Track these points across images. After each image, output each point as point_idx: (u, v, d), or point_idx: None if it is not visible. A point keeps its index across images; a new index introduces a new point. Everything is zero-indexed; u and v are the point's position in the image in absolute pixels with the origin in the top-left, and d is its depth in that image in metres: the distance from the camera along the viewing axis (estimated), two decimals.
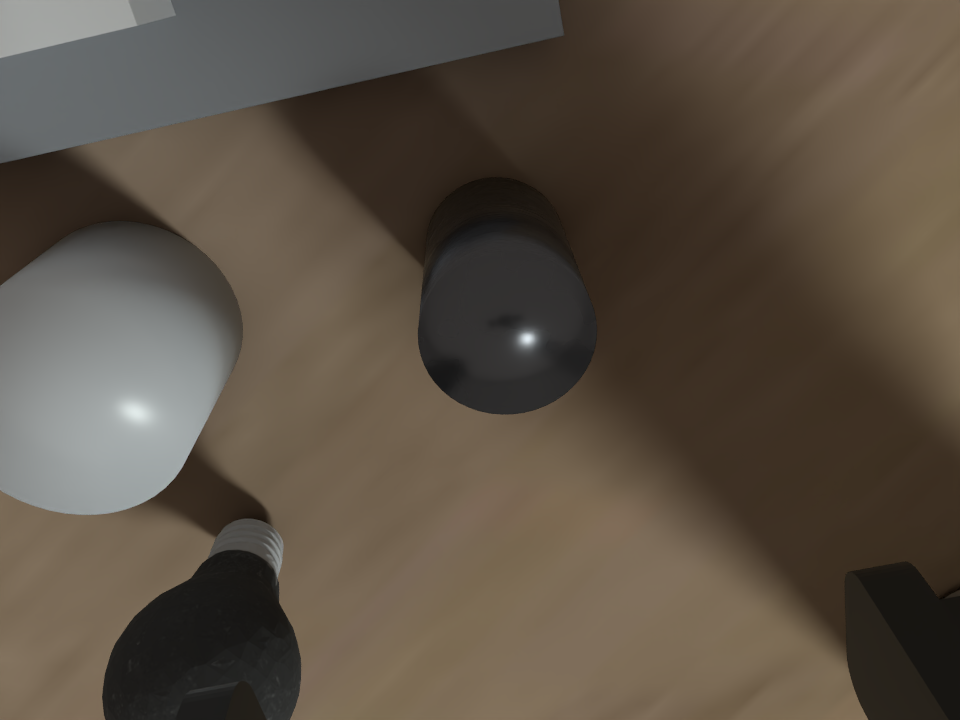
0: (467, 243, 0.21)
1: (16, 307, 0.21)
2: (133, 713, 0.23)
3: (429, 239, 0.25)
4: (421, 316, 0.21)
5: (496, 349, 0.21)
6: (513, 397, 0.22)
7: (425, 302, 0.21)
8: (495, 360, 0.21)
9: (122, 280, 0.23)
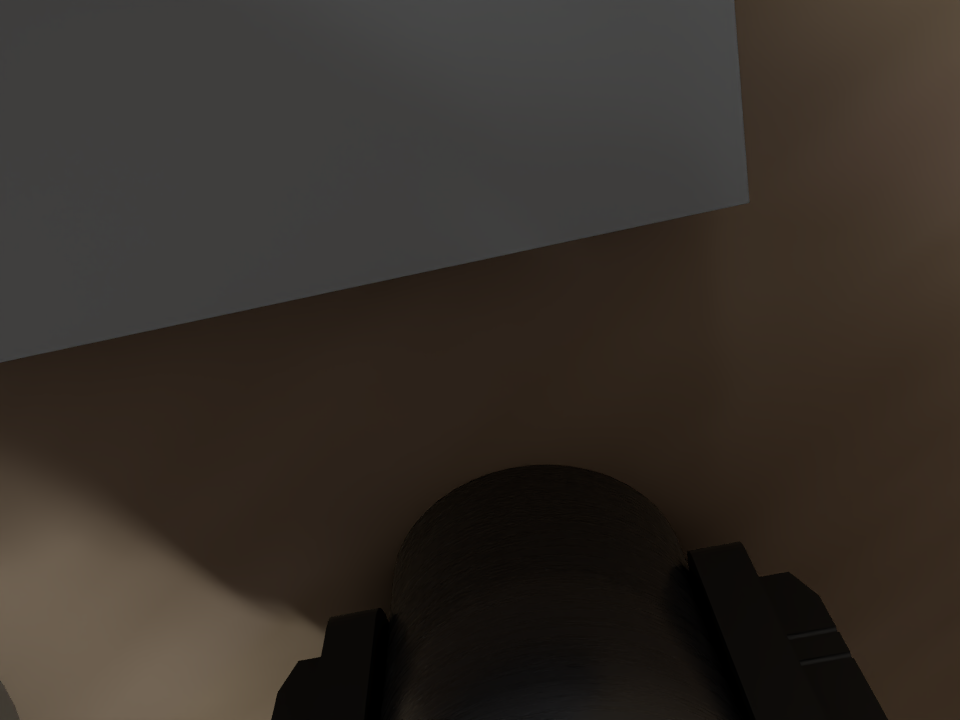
0: None
1: None
2: None
3: (394, 640, 0.11)
4: None
5: None
6: None
7: None
8: None
9: None
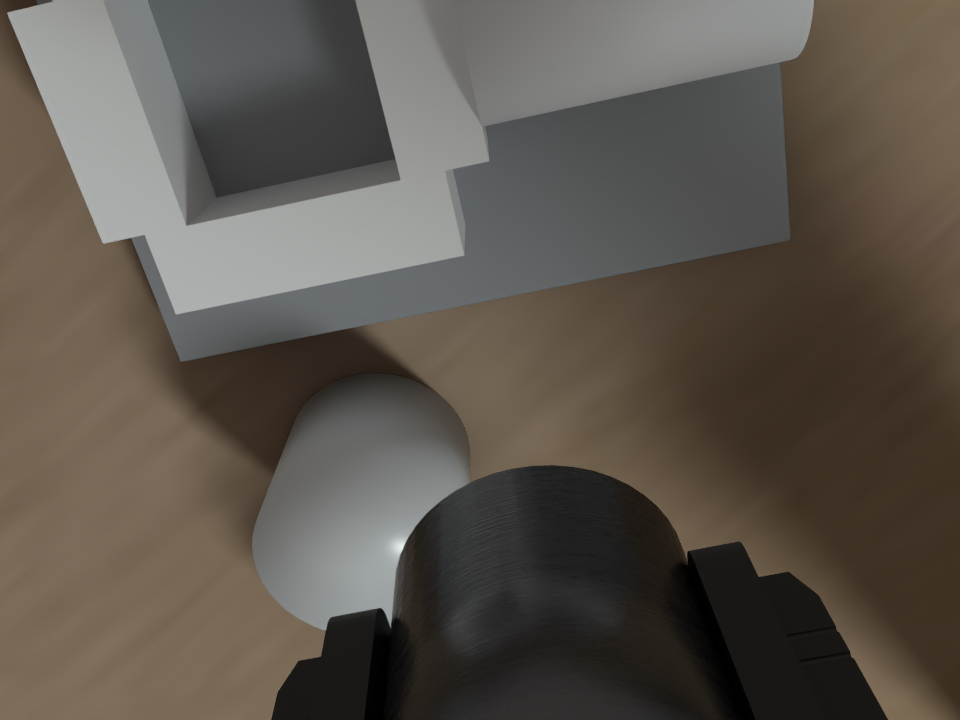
0: None
1: (337, 474, 0.26)
2: None
3: (396, 640, 0.11)
4: None
5: None
6: None
7: None
8: None
9: (409, 442, 0.27)
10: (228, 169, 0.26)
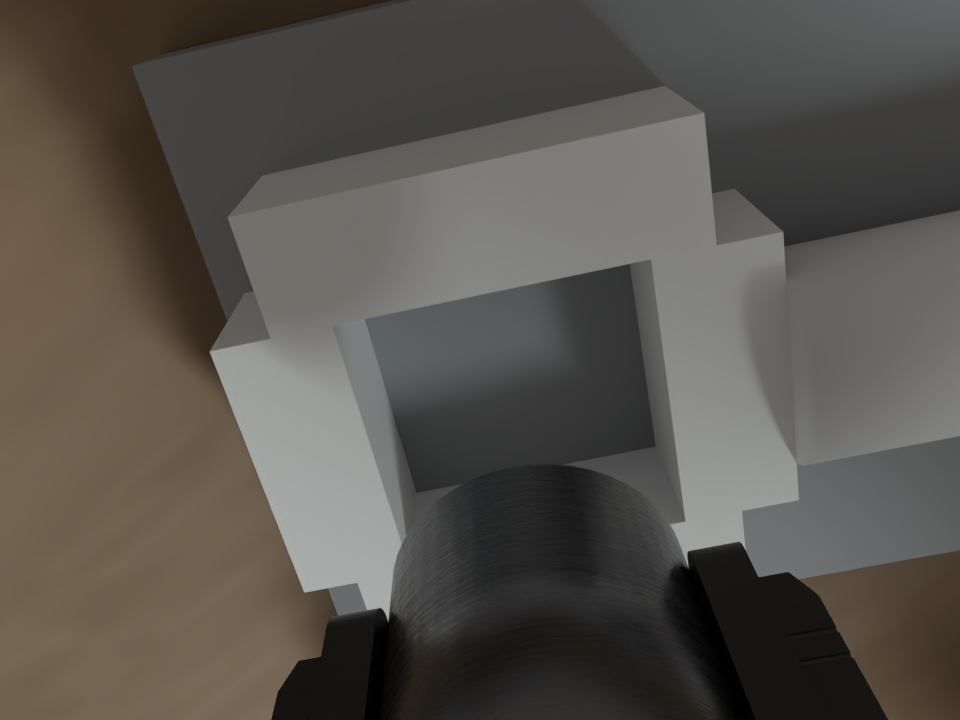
0: None
1: None
2: None
3: (393, 639, 0.11)
4: None
5: None
6: None
7: None
8: None
9: None
10: (434, 463, 0.21)
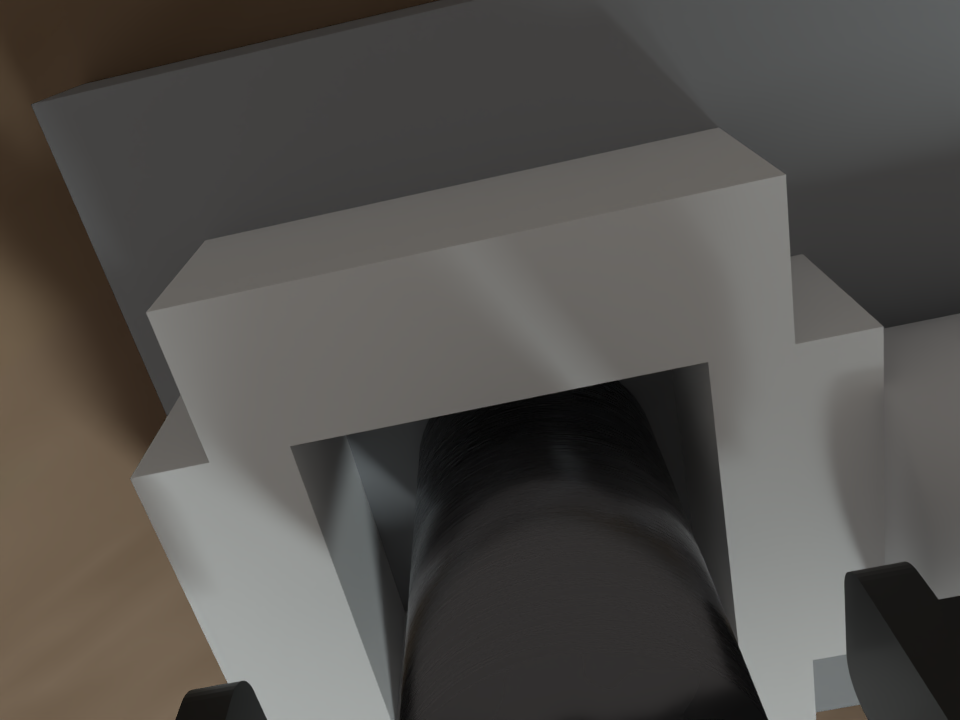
0: (497, 588, 0.10)
1: None
2: None
3: (422, 483, 0.14)
4: None
5: None
6: None
7: None
8: None
9: None
10: None
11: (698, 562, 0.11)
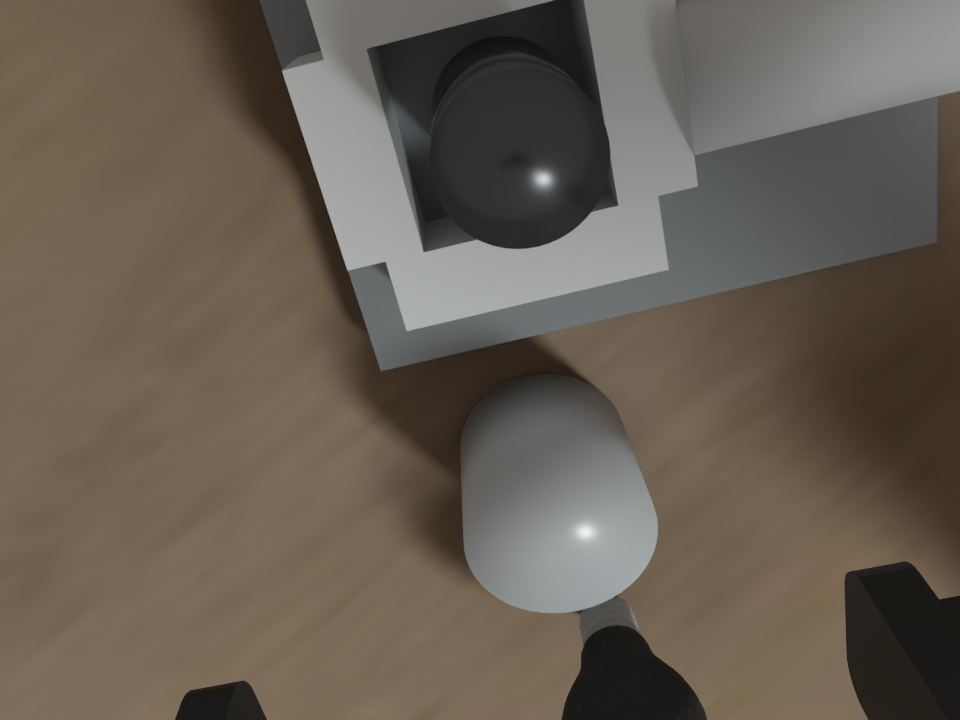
0: (475, 71, 0.21)
1: (546, 468, 0.28)
2: None
3: (436, 94, 0.25)
4: (432, 143, 0.20)
5: (509, 177, 0.21)
6: (527, 229, 0.22)
7: (436, 127, 0.20)
8: (508, 189, 0.21)
9: (599, 436, 0.30)
10: None
11: None
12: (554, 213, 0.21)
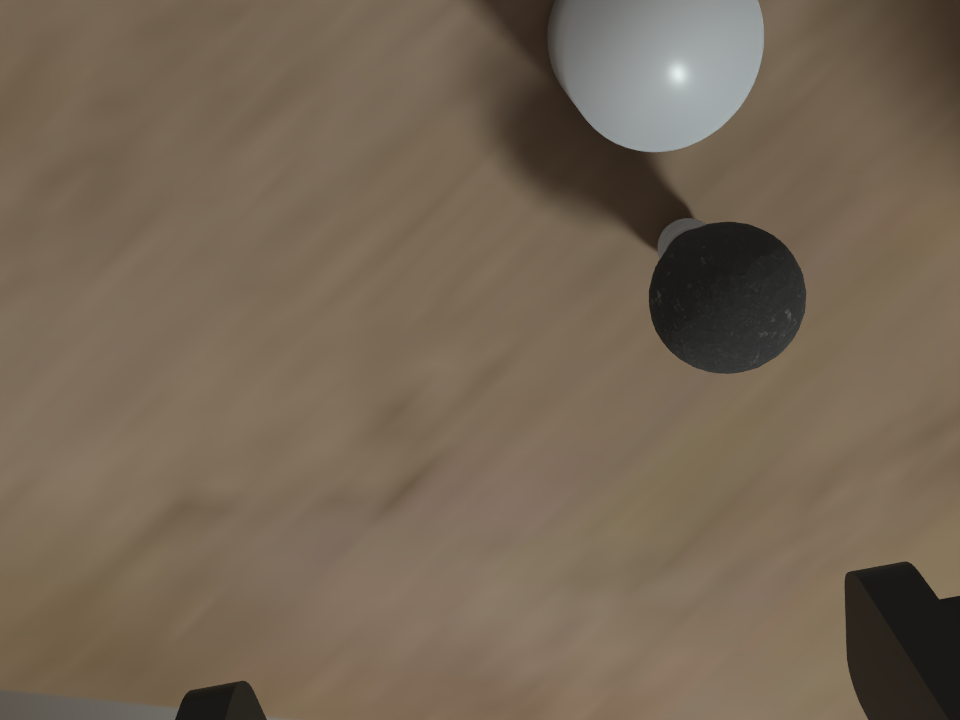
0: None
1: None
2: (715, 291, 0.29)
3: None
4: None
5: None
6: None
7: None
8: None
9: None
10: None
11: None
12: None
